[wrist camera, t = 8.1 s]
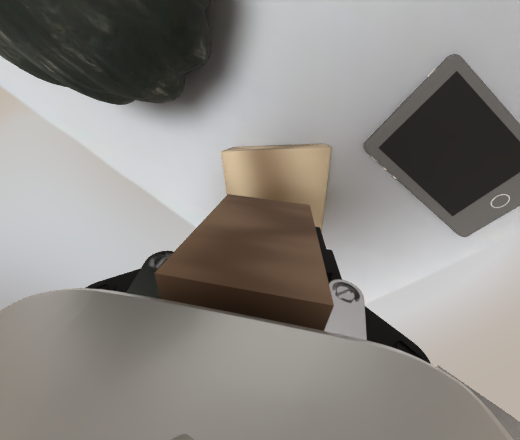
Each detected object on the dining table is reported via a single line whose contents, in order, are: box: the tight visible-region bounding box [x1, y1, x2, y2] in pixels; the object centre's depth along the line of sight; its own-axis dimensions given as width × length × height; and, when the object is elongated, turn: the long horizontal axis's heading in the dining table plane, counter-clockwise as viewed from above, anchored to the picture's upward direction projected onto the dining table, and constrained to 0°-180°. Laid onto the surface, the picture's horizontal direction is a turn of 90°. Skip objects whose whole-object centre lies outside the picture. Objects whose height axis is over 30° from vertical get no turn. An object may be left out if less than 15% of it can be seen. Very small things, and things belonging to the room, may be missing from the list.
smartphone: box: [363, 54, 520, 237], centre depth 17 cm, size 15×8×1 cm, turn 54°
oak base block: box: [221, 144, 331, 233], centre depth 19 cm, size 9×9×4 cm
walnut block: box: [155, 194, 334, 331], centre depth 9 cm, size 5×5×7 cm
